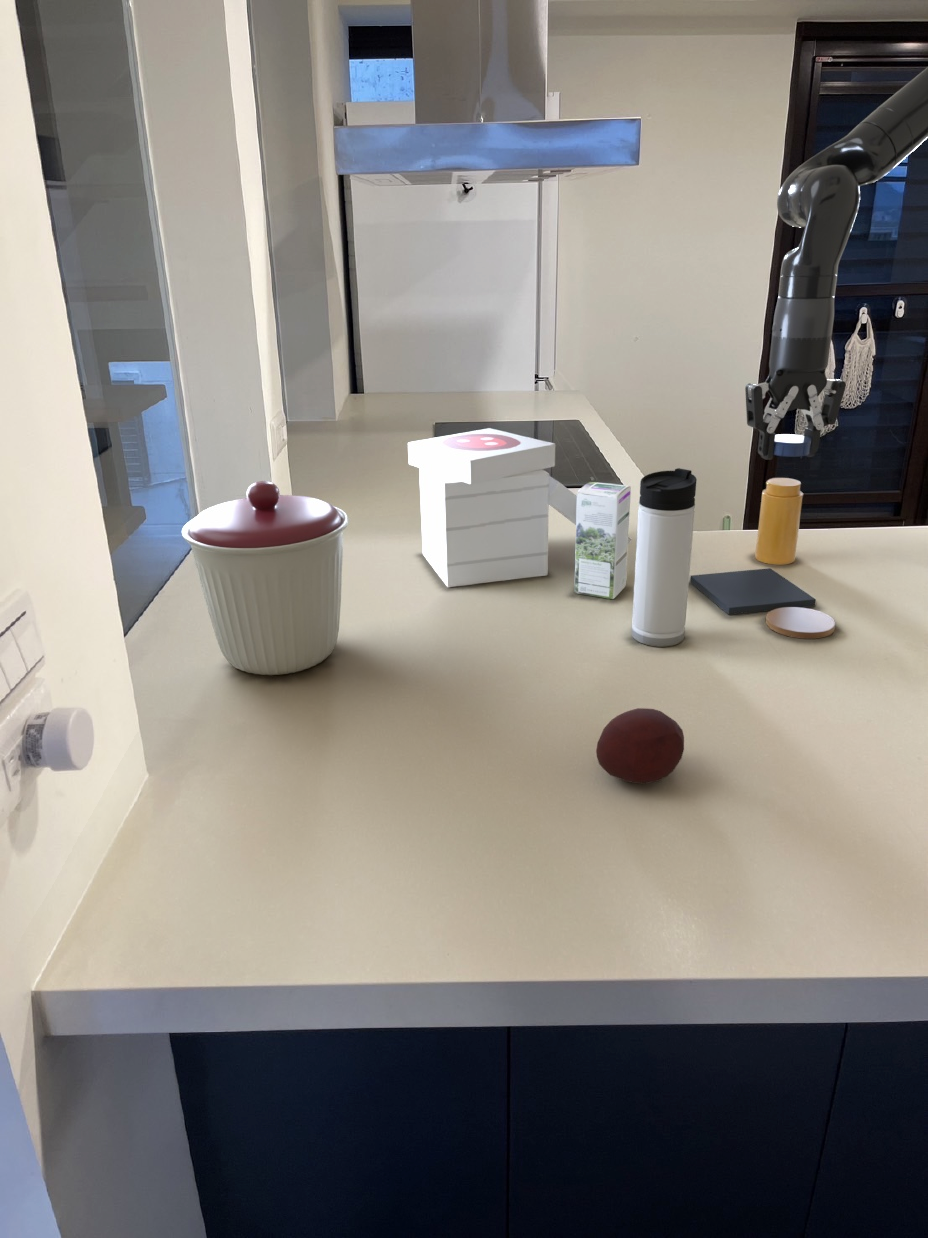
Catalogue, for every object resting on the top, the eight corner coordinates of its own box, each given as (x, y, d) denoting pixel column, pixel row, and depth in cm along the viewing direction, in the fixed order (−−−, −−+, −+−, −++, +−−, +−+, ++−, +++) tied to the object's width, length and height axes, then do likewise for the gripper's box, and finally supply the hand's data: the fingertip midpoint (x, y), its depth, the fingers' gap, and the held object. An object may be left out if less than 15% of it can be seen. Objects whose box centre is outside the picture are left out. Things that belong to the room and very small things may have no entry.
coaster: (812, 610, 116) (813, 604, 116) (847, 635, 109) (848, 629, 108) (754, 615, 115) (754, 610, 114) (786, 641, 107) (787, 635, 107)
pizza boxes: (636, 568, 131) (643, 445, 124) (436, 594, 124) (431, 464, 117) (584, 530, 148) (588, 419, 141) (405, 550, 141) (399, 434, 134)
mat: (769, 574, 128) (770, 567, 127) (815, 606, 117) (816, 599, 117) (689, 582, 126) (690, 575, 126) (728, 615, 115) (729, 607, 115)
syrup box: (627, 586, 125) (632, 483, 119) (613, 601, 120) (618, 495, 114) (588, 580, 127) (591, 479, 122) (572, 594, 123) (575, 490, 117)
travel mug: (696, 635, 110) (710, 473, 102) (664, 652, 106) (676, 484, 98) (652, 621, 114) (663, 464, 106) (621, 637, 110) (629, 475, 102)
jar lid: (779, 457, 124) (780, 444, 124) (758, 448, 130) (759, 435, 129) (817, 455, 125) (819, 441, 125) (796, 446, 131) (797, 432, 130)
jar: (782, 550, 137) (792, 475, 132) (802, 563, 132) (812, 485, 127) (748, 553, 136) (756, 478, 131) (766, 566, 131) (775, 488, 126)
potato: (702, 786, 80) (708, 727, 78) (619, 806, 78) (622, 746, 75) (658, 746, 87) (663, 690, 84) (581, 763, 84) (582, 706, 82)
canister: (330, 697, 97) (313, 508, 89) (174, 686, 100) (143, 502, 92) (376, 629, 113) (365, 463, 105) (240, 622, 117) (219, 460, 108)
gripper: (765, 337, 116) (752, 466, 123) (867, 332, 119) (849, 459, 126) (738, 332, 123) (727, 454, 130) (835, 327, 126) (819, 448, 132)
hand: (787, 456), depth 128 cm, fingers closed on jar lid, 5 cm apart
